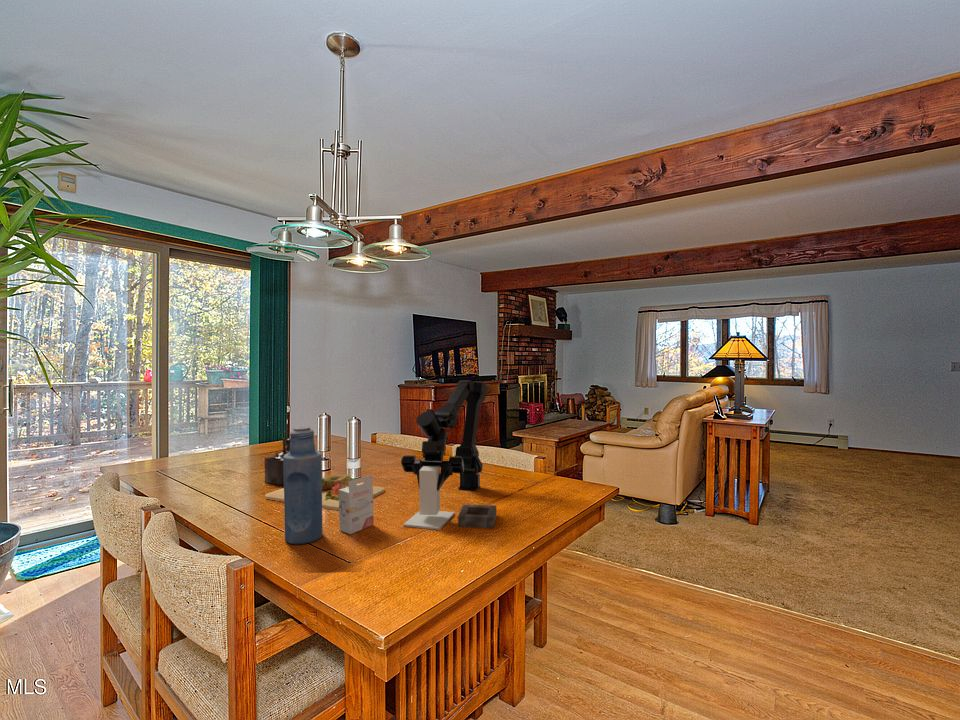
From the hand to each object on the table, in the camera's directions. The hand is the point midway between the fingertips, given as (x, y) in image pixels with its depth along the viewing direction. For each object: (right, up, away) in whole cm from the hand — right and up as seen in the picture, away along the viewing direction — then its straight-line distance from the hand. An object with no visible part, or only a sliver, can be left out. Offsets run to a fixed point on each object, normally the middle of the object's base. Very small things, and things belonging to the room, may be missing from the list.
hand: (428, 489), depth 137 cm
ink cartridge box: (-20, -10, -4) cm, 23 cm away
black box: (-59, -9, +43) cm, 73 cm away
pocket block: (+14, -9, +1) cm, 17 cm away
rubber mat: (0, -9, +1) cm, 10 cm away
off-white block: (0, -7, +2) cm, 7 cm away
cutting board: (-39, -10, +27) cm, 48 cm away
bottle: (-32, -10, -11) cm, 36 cm away
